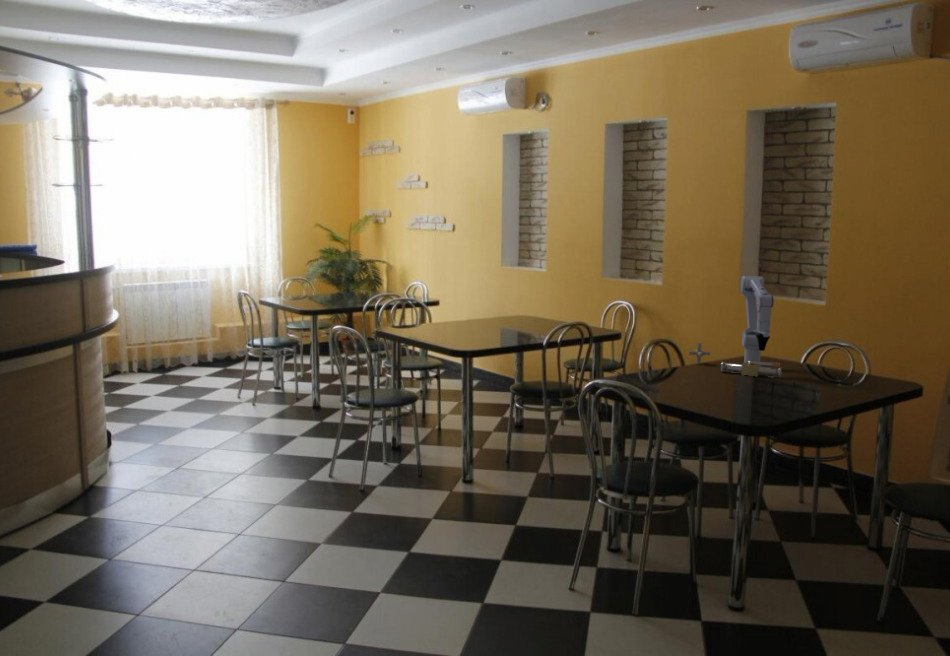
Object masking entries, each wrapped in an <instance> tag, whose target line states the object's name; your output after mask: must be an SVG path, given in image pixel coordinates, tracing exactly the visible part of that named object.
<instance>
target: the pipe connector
mask: <svg viewBox="0 0 950 656" xmlns="http://www.w3.org/2000/svg"><path fill="white" fill-rule="evenodd" d="M687 354H688V355H689V356H690V355H691V356H692V355H693V356H696V362H695V363H696V364H701V360H702V359H701V358H703V357H704V356H710V355H711V351H706V350H702V342H697V347H696V349H694V350H688V352H687Z"/></svg>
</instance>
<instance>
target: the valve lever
mask: <svg viewBox="0 0 950 656" xmlns="http://www.w3.org/2000/svg"><path fill="white" fill-rule="evenodd" d="M748 364H760V365H762V366H763V365H764V366H770V367H774V368H779V367H780V366H781V362H768V361H767V362H765V361H760V362H757V361H751V360H750V361H748Z"/></svg>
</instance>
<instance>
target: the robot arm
mask: <svg viewBox="0 0 950 656" xmlns="http://www.w3.org/2000/svg"><path fill="white" fill-rule="evenodd" d="M740 291H741V295H743V296H744V299H745V310H746V321H747V322H746V323H747V327H746V328H745V329H744V330H743V332H742V333H741V345H742V347H743V348H744V358H743V363H744V362H747V363H748V361H750V360H751V361H757V362H761V355H762V353H761V352H764V351H766V347H767V343H768V341H769V340H770V333H771V330H770V329H771V320H772V319H771V316H772V308H774V304H775V303H774V302H775V300H774V296H773V294H769V292H768V290H767V289H766V287H765V279H764V277H763V276H762V275H761V276H757V275H755V276H753V275H750V276H749V275H742V276H741V279H740ZM760 366H763V365H760Z"/></svg>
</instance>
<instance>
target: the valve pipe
mask: <svg viewBox="0 0 950 656" xmlns="http://www.w3.org/2000/svg"><path fill="white" fill-rule="evenodd" d="M782 370H783V369H782V366H781V367H774V366H763V365H762V366H760V364H748V363H747V362H744V361H743V363H741V364H740V363H734V362H733V363H732V362H725V361H721V362H720V371H721V372H724V371H725V372H731V374H732V373H737V372H738V373H741V374H740V375H741V376H744V375H748V376H747V377H753V376H755V378H757V377H758V378H759V376H760V375H765V376H768V378H769V377H771V378H772V379H774V378H775V377H777V378H781V377H782ZM738 373H737V374H738ZM759 374H760V375H759ZM758 375H759V376H758Z"/></svg>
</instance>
